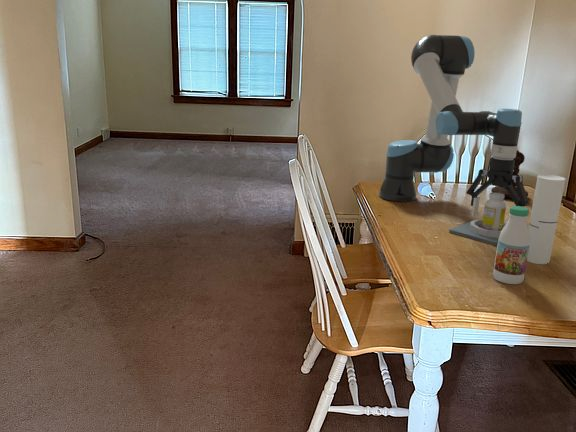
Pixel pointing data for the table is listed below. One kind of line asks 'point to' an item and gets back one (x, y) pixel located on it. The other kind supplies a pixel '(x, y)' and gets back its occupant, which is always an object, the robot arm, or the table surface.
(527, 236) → the milk bottle
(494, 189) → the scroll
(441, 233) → the table surface
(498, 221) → the supplement bottle
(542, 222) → the cylindrical container
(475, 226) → the collar board
